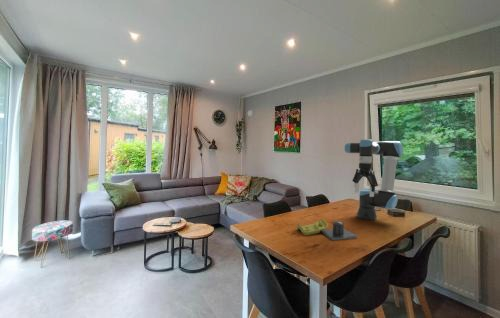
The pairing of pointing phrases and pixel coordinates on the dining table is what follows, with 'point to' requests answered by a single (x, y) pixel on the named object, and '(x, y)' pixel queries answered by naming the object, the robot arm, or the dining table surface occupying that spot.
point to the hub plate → (334, 236)
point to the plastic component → (313, 227)
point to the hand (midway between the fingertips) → (363, 194)
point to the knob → (338, 227)
